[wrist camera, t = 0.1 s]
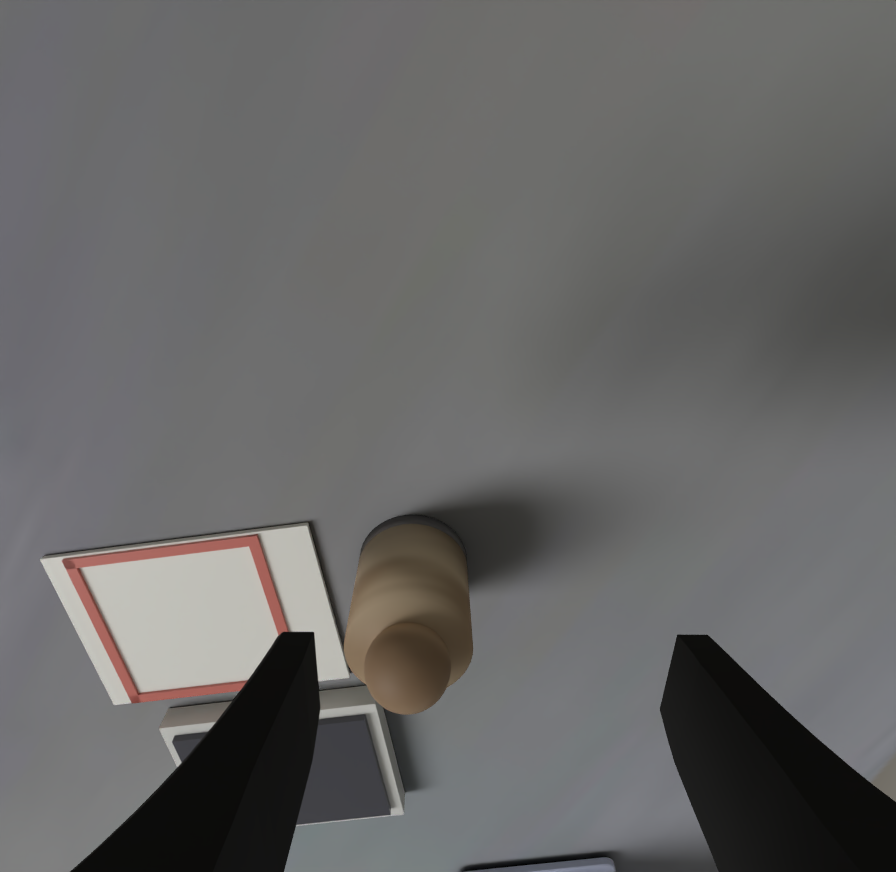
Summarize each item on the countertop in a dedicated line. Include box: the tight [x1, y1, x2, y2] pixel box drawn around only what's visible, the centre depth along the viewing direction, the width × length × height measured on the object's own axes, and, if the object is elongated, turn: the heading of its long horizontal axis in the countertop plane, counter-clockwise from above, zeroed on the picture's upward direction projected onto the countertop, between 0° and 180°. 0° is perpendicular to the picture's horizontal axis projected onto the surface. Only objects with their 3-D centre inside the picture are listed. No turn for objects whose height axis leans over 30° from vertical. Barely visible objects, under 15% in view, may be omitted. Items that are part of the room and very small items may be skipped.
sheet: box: [40, 522, 350, 705], centre depth 24 cm, size 8×10×1 cm
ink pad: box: [159, 686, 405, 826], centre depth 27 cm, size 7×9×1 cm
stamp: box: [344, 515, 473, 714], centre depth 20 cm, size 4×4×7 cm
